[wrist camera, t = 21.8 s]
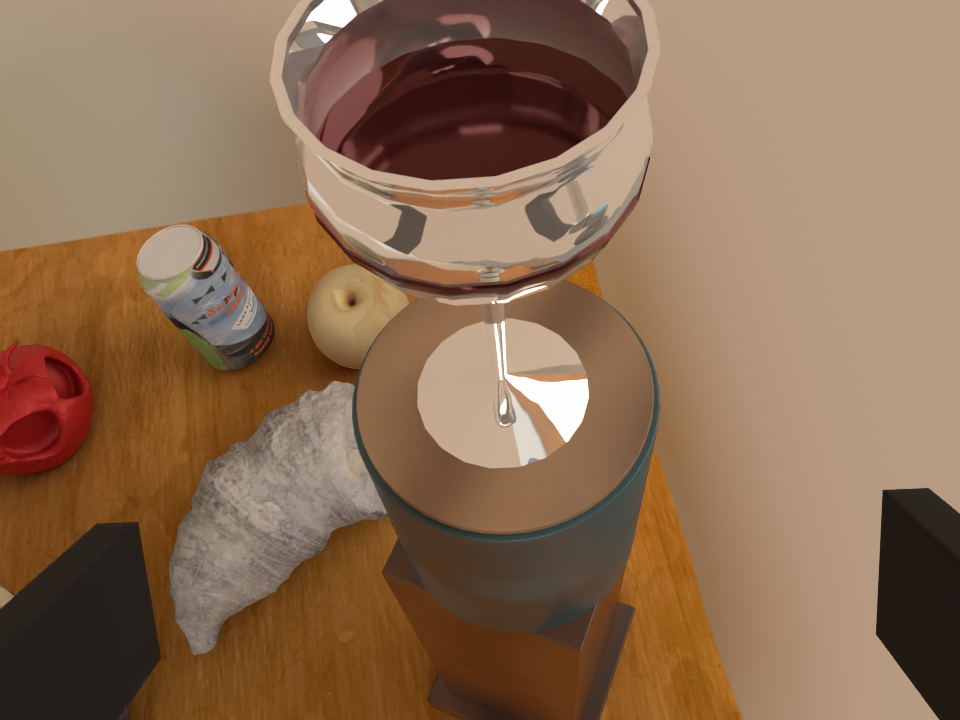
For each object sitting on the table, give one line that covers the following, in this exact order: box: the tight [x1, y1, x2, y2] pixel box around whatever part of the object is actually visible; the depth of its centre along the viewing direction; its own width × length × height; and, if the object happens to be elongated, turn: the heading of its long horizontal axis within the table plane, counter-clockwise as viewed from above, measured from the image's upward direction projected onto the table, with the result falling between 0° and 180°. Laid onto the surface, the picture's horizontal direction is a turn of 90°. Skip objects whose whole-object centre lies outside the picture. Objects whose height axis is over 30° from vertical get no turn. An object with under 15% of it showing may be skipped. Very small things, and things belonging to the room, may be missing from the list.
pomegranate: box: [0, 339, 94, 475], centre depth 62 cm, size 10×10×9 cm
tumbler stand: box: [352, 280, 660, 720], centre depth 40 cm, size 10×10×35 cm
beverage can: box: [137, 225, 274, 371], centre depth 64 cm, size 6×7×12 cm
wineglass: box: [270, 0, 661, 469], centre depth 20 cm, size 7×7×12 cm
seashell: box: [169, 381, 387, 655], centre depth 56 cm, size 16×15×10 cm
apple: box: [307, 264, 409, 369], centre depth 66 cm, size 8×8×8 cm
